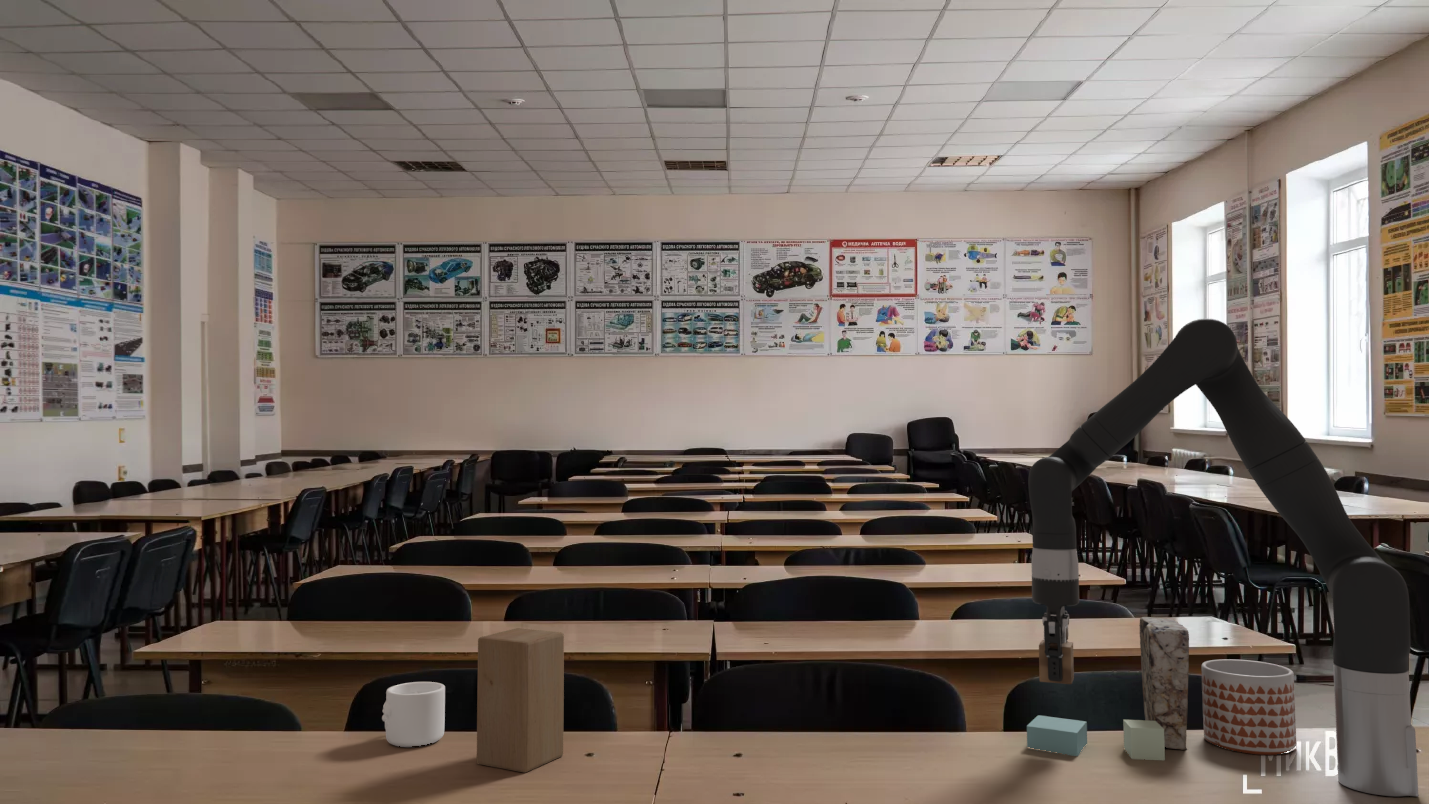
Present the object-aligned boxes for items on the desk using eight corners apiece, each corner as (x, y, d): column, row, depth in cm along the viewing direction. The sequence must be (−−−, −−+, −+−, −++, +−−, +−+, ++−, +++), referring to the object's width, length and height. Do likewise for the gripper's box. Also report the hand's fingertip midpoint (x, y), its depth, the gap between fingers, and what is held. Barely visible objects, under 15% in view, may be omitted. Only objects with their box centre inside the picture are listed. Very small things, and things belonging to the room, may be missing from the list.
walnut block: (1073, 678, 163) (1073, 642, 164) (1071, 684, 159) (1070, 647, 159) (1042, 675, 165) (1042, 639, 166) (1039, 681, 161) (1038, 645, 161)
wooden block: (475, 764, 153) (476, 637, 154) (516, 748, 162) (517, 627, 163) (525, 774, 148) (526, 642, 150) (564, 756, 157) (565, 632, 158)
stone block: (1199, 751, 158) (1194, 628, 160) (1153, 749, 160) (1150, 627, 161) (1174, 729, 171) (1170, 615, 173) (1132, 727, 173) (1129, 614, 174)
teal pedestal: (1087, 745, 163) (1086, 721, 163) (1077, 758, 156) (1077, 732, 156) (1038, 738, 167) (1038, 715, 167) (1027, 750, 160) (1026, 726, 161)
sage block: (1156, 751, 159) (1155, 720, 159) (1165, 760, 154) (1164, 729, 154) (1124, 750, 160) (1123, 719, 160) (1131, 759, 155) (1130, 727, 155)
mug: (382, 733, 171) (383, 681, 172) (443, 728, 174) (443, 677, 175) (380, 752, 160) (381, 696, 160) (445, 746, 163) (446, 692, 163)
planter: (1189, 732, 170) (1187, 658, 171) (1269, 732, 169) (1266, 659, 170) (1227, 755, 156) (1225, 676, 157) (1314, 756, 156) (1311, 676, 156)
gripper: (1075, 581, 155) (1077, 688, 154) (1081, 571, 168) (1084, 670, 167) (1026, 578, 158) (1028, 684, 157) (1036, 569, 171) (1038, 667, 170)
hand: (1057, 676), depth 162 cm, fingers closed on walnut block, 5 cm apart
